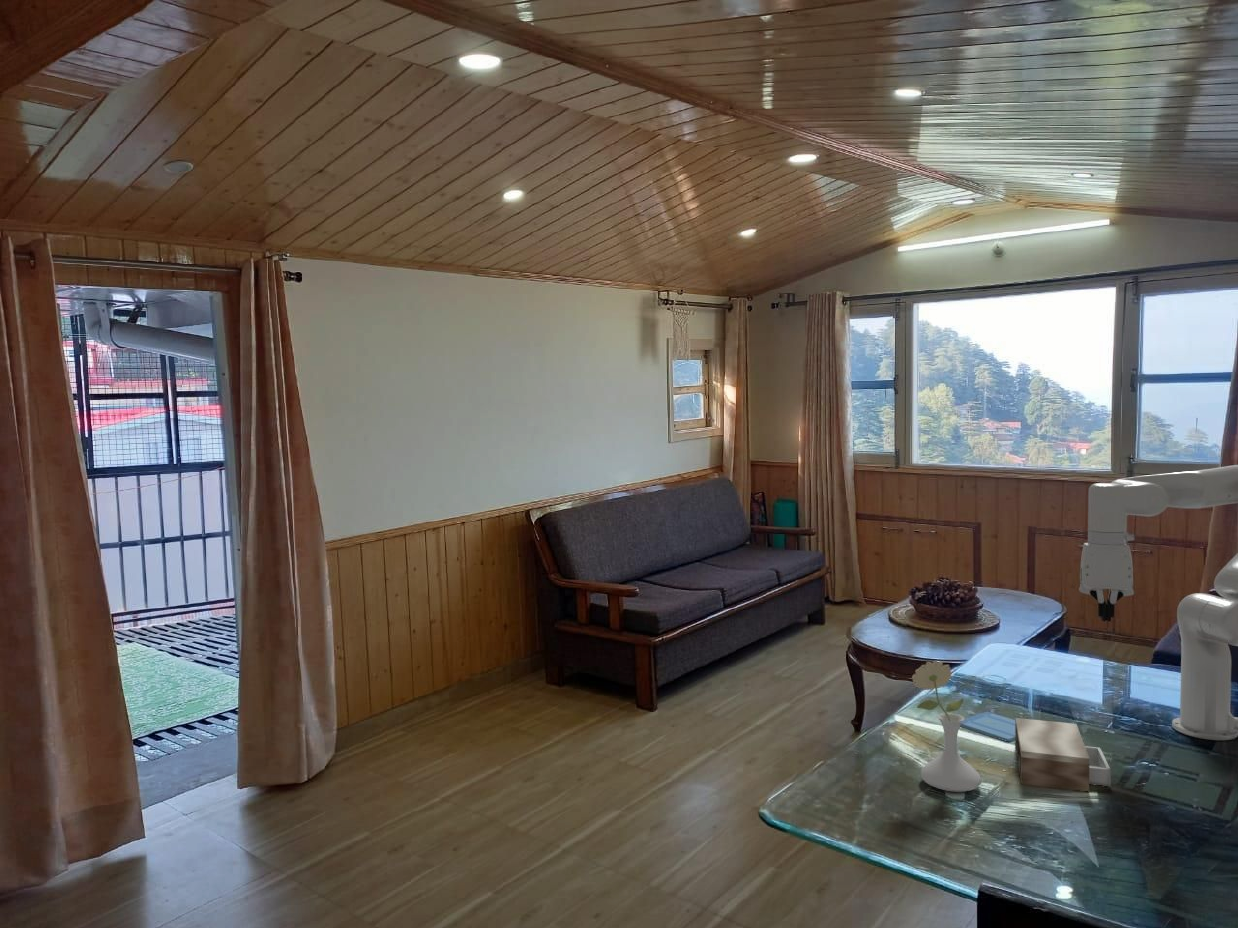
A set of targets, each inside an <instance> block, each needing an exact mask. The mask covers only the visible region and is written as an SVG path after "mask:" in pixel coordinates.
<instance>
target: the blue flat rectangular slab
mask: <svg viewBox="0 0 1238 928" xmlns="http://www.w3.org/2000/svg"><path fill="white" fill-rule="evenodd" d="M961 726H963V727H962V728H964V727H966V728H965V729H967V728H968V729H967V730H970V729H971V731H974V732H976V731H977V732H976V733H979V732H980V733H979V734H983V735H986V736H989V737H992V738H994V737H996V738H995V739H997V738H1000V739H999V740H1001V739H1003V740H1002V741H1004V740H1006V741H1005V742H1007V741H1010V742H1012V741H1011V740H1013V741H1015V740H1014V739H1015V719H1012V718H1010V717H1006V716H1003V715H1001V714H1000V715H999V714H997V713H996V714H995V713H993V712H990V711H985V712H982V713H979V714H977V715H972V716H969V717H966V718H964V721H963V722H962V723H961V725H960V727H961Z"/></svg>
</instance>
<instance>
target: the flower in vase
mask: <svg viewBox="0 0 1238 928" xmlns="http://www.w3.org/2000/svg"><path fill="white" fill-rule="evenodd" d="M943 663H944V662H943V661H937V660H934V661H932V662H931V661H926V663H925V664H921V665H920V667H918V668H917V669H915V672H914V674H913V675H912V676H911V679H912V681H913V683H914V686H915V687H916V688H918V689H923V690H924V691H926V690H927V691H928V690H930V691H933V690H934V689H935V694H936V696H935V697H936V701H935V700H931V699H928V700H924V701H922V702H920V703H919V704H918V705H917V706H916V708H917V709H923V710H927V711H932V710H934V709H936V708H937V707H938V706H939V707H940V708H941V711H942V712H943V713H939V714H937V718H938V720H939V722H940V723H941V725H942V729H943V735H944V748H943V749H944V750H943V751H942V754H940V755H939V756H938V757H936V758H934V759H932V760H931V761H929V762H927V763H925V765H924V766H923V767H922V769H921V771H920V777H921V778H922V779H923V781H924V782H925V783H926V784H928V785H929V786H932V787H933V788H936V789H939V790H942V791H947V792H955V793H957V792H958V793H959V792H962V793H963V792H967V791H968V792H970V791H973V790H976V789H977V788H979V786H980V785H981V784H982V779H981V776H980V773H979V772H978V771H977V770H976V769H975V767H973V766H972V765H971V764H970V763H968V762H967V761H965V760H964V759H963V758H962V757H961V756H960V755H959V752H958V747H957V746H958V743H957V742H958V734H959V729H960V727H961V726H960V725H961V723H962V722H963V721H964V719H965V717H964V716H962V715H960V714H956V713H950V712H956V711H958V710H959V709H960V708H962V706H963V703H964V698H961V699H958V700H954V701H952V702H951V701H950V702H949V703H948V704H947V705H946V708H944V707H943V705H942V703H941V702H940V699H939V694H938V689H940V687H944V686H946V685H947V683H949V682H950V680H951V679H952V678H953V676H952V674H953V673H952V671H951V667H950V664H943Z"/></svg>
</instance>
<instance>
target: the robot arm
mask: <svg viewBox="0 0 1238 928" xmlns="http://www.w3.org/2000/svg"><path fill="white" fill-rule="evenodd" d="M1232 504H1238V464H1234V465H1226V466H1220V467H1213V468H1208V469H1207V468H1206V469H1198V470H1192V471H1180V472H1178V471H1177V472H1170V473H1157V474H1148V475H1138V476H1132V477H1124V478H1118V479H1115V480H1112V481H1111V482H1097V483H1096V482H1095V483H1093V484H1091V485H1090V486H1089V488H1088V510H1087V511H1088V513H1087V516H1088V517H1087V524H1088V525H1087V526H1088V527H1087V542H1084V543H1083V546H1082V551H1081V557H1080V558H1081V559H1080V568H1079V569H1080V570H1079V581H1080V584H1079V585H1080V586H1079V588H1078V590H1079V592H1080V593H1081V594H1086V595H1089V596H1091V597H1093V599H1095V601H1097V616H1098V617H1100V619H1101V621H1102V622H1106V621H1107V622H1112V618H1114V617H1115V604H1117V602H1118V601H1120V600H1121V598H1123V597H1128V596H1133V595H1135V591H1134V567H1133V566H1134V565H1133V556H1132V551H1131V546H1130V544H1128V542H1130V541H1135V534H1134V533H1133V534H1131V533H1129V532H1128V531H1127V526H1128V516H1141V517H1155V516H1158V515H1160V514H1161V513H1163V512H1164V511H1165V510H1166V509H1167V508H1178V509H1205V508H1212V507H1218V506H1223V505H1232ZM1213 587H1214V590H1215V592H1216V593H1217V594H1218V595H1219V596H1217V595H1213V594H1210V593H1204V592H1203V593H1201V592H1200V593H1197V592H1195V593H1192V594H1188V595H1186V596H1185V597H1184V598H1182V600H1181V601H1179V604H1178V606H1177V611H1176V618H1177V626H1178V628H1179V634H1180V646H1181V648H1180V649H1181V651H1180V652H1181V654H1180V657H1181V658H1180V659H1181V661H1180V700H1179V701H1180V702H1179V703H1180V705H1179V717H1176V718H1173V719H1172V720H1171V726H1172V728H1173V729H1174V730H1175V731H1177V732H1179V733H1181V734H1183V735H1186V736H1189V737H1193V738H1198V739H1203V740H1208V741H1210V740H1211V741H1230V740H1231V741H1232V740H1235V739H1236V738H1238V717H1236V716H1234V715H1232V713H1231V688H1232V685H1231V684H1232V654H1231V650H1230V646H1235V647H1238V552H1237V553H1236V554H1235V555H1234V556H1233V557H1232V558H1231V559H1230V560H1229V561H1228V562H1227V563H1226V565H1225V566H1223V568H1222V569H1221V570H1219V572H1218V573H1217V575H1216V576H1215V578H1214V581H1213ZM1103 591H1108V596H1107V598H1106V600H1105V599H1104V592H1103ZM1229 645H1230V646H1229Z"/></svg>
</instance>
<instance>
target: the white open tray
mask: <svg viewBox="0 0 1238 928" xmlns="http://www.w3.org/2000/svg"><path fill="white" fill-rule="evenodd" d="M1085 748H1086V751H1087V753H1088V756H1089V784H1096V785H1103V786H1102V787H1104V786H1108V787H1107V788H1111V787H1112V786H1111V785H1112V784H1111V782H1112V778H1111V777H1112V770H1111V767H1110V765H1109V763H1108V761H1107V759H1106V757H1105V755H1104V753H1103V751H1102V749H1101V747H1098V746H1097V747H1096V746H1087V745H1085Z"/></svg>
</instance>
